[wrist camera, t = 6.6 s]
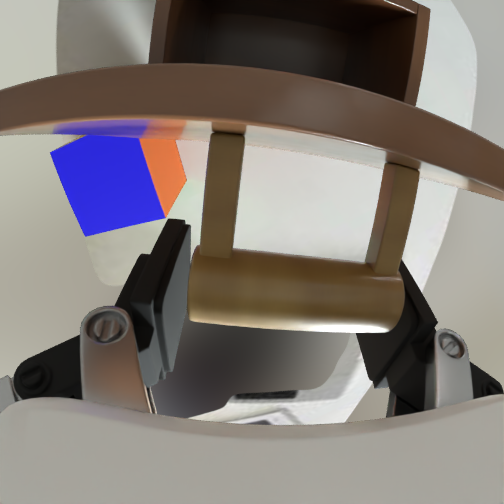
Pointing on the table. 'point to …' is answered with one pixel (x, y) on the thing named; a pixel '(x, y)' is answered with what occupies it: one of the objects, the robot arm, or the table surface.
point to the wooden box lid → (276, 137)
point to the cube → (119, 180)
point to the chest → (301, 39)
